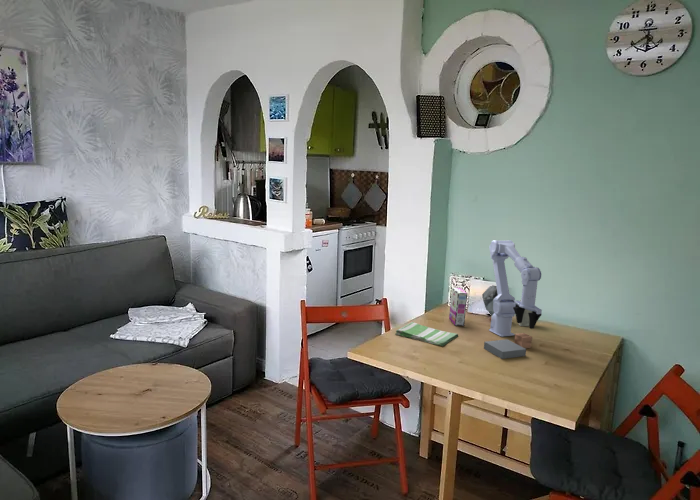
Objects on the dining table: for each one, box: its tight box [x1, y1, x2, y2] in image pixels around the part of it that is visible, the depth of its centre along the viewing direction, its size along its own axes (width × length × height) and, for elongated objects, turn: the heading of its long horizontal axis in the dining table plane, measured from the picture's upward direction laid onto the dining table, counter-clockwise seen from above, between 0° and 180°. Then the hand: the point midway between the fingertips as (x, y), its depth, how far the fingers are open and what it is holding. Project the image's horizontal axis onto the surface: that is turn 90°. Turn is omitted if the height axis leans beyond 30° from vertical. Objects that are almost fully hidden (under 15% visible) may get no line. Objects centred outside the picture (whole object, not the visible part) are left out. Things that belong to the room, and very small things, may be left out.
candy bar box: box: [448, 287, 468, 327], centre depth 249 cm, size 11×5×16 cm, turn 5°
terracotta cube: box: [513, 332, 533, 349], centre depth 221 cm, size 5×5×5 cm
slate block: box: [483, 338, 527, 360], centre depth 213 cm, size 12×12×3 cm
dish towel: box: [395, 321, 459, 347], centre depth 229 cm, size 18×23×3 cm
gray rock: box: [481, 284, 502, 321], centre depth 258 cm, size 14×15×18 cm
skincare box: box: [517, 299, 532, 327], centre depth 251 cm, size 6×4×12 cm
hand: (525, 325), depth 220 cm, fingers open, 7 cm apart
